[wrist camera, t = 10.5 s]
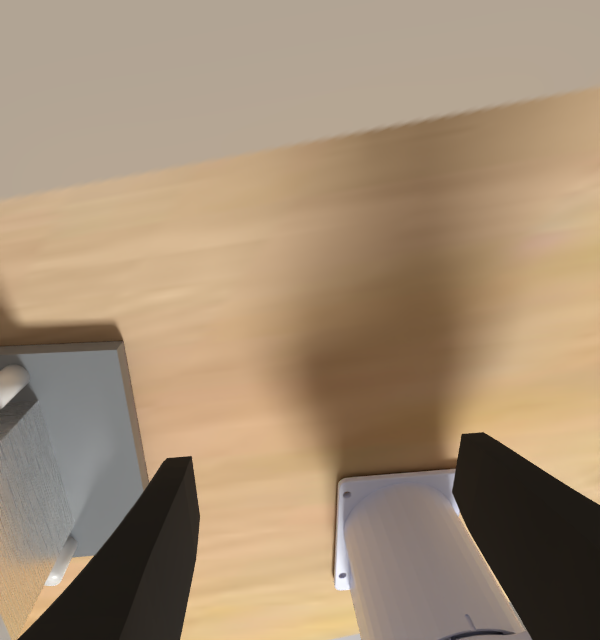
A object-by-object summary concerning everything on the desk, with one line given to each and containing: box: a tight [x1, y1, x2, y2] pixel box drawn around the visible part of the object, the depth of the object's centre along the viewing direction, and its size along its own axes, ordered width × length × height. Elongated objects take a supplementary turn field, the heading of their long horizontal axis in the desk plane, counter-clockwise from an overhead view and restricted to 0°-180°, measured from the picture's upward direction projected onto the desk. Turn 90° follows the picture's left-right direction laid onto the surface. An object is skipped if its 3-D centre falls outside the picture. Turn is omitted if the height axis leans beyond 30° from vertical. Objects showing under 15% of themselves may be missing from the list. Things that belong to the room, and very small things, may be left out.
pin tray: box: [0, 341, 149, 586], centre depth 20 cm, size 13×12×3 cm
